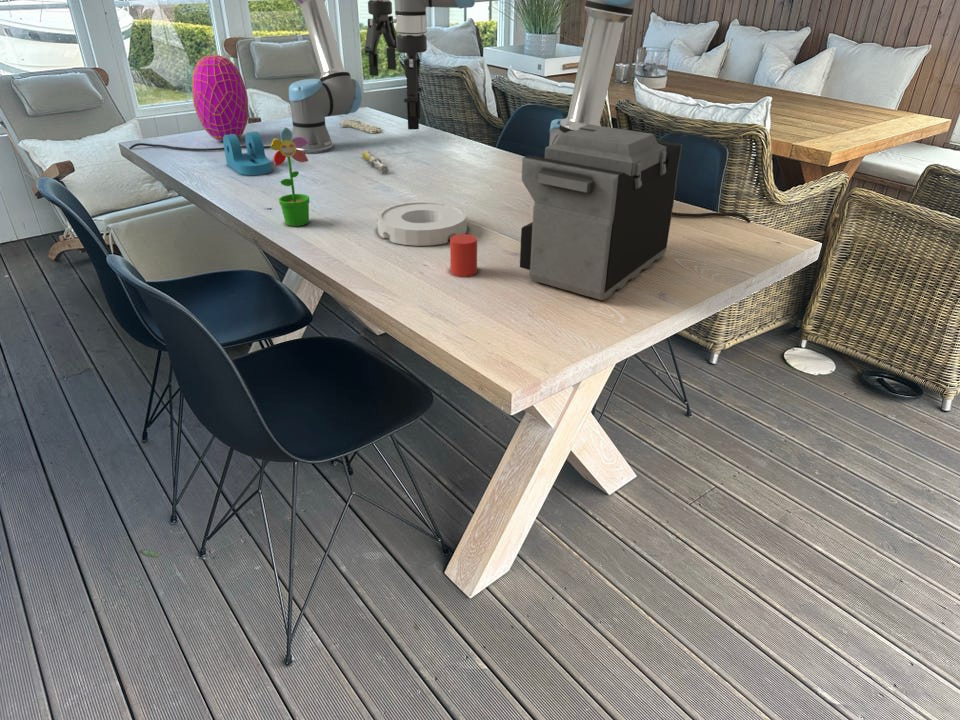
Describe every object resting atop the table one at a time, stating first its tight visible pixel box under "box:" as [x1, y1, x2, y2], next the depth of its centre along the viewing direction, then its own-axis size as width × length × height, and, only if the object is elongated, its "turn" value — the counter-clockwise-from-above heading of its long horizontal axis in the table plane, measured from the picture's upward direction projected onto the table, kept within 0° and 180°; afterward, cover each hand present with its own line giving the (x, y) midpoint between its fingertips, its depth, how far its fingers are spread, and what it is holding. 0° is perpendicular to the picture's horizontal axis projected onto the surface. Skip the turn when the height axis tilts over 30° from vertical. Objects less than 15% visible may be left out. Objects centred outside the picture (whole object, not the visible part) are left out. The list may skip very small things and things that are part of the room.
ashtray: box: [376, 200, 468, 247], centre depth 179 cm, size 23×23×4 cm
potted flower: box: [270, 127, 310, 227], centre depth 177 cm, size 9×8×25 cm
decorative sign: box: [340, 118, 382, 134], centre depth 285 cm, size 26×1×10 cm
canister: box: [449, 233, 478, 278], centre depth 155 cm, size 6×6×8 cm
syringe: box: [361, 149, 390, 175], centre depth 234 cm, size 25×4×3 cm, turn 21°
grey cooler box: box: [519, 124, 683, 301], centre depth 152 cm, size 37×22×30 cm, turn 144°
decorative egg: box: [191, 54, 249, 142], centre depth 255 cm, size 19×19×30 cm
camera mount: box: [222, 131, 272, 176], centre depth 226 cm, size 18×10×10 cm, turn 35°
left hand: (383, 72), depth 227 cm, fingers open, 13 cm apart
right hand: (414, 123), depth 180 cm, fingers open, 13 cm apart
